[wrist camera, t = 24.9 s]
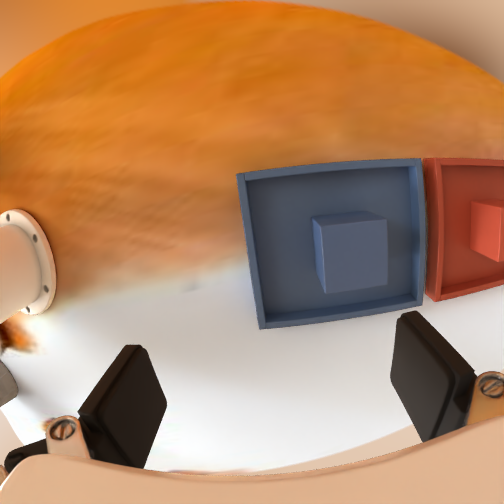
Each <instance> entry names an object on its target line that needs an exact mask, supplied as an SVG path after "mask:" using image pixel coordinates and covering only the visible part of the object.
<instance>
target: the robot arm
mask: <svg viewBox="0 0 504 504" xmlns="http://www.w3.org/2000/svg"><path fill="white" fill-rule="evenodd" d="M55 290H56V271H55V264H54V259H53V255H52V252H51V248H50V245H49V243H48V241H47V238H46V236H45V234H44V232H43V231H42V229H41V227H40V225H39V224H38V223H37V222H36V220H35V219H34V218H33V217H32V216H31V215H30V214H28V213H27V212H25V211H23V210H19V209H13V210H9V211H6V212H4V213H2V214H1V215H0V324H1V323H2V322H4V321H5V320H7V319H8V318H10V317H11V316H13V315H14V314H16V313H17V312H19V311H22V312H24V313H26V314H29V315H38V314H40V313H42V312H43V311H45V310H46V309H47V308H48V307H49V306H50V305H51V303H52V301H53V298H54V296H55ZM474 371H475V370H474V369H473V368H472V367H471V366H470V365H469V364H468V363H467V362H466V360H465V359H464V358H463V357H462V356H461V355H460V354H459V353H458V352H457V351H456V350H455V349H454V348H453V347H452V346H451V344H450V343H449V342H448V341H447V340H446V339H445V338H444V337H443V336H442V335H441V334H440V333H439V332H438V331H437V330H436V329H435V328H434V327H433V326H432V325H431V324H430V323H429V322H428V321H427V320H426V319H425V318H424V317H423V316H422V315H421V314H420V313H419V312H418V311H411V312H406V313H403V314H402V315H401V317H400V318H398V319H397V324H396V334H395V344H394V352H393V360H392V367H391V374H390V378H391V382H392V385H393V386H394V388H395V390H396V392H397V394H398V396H399V398H400V399H401V401H402V403H403V405H404V407H405V409H406V411H407V413H408V415H409V416H410V418H411V420H412V422H413V424H414V426H415V428H416V430H417V432H418V434H419V436H420V438H421V440H422V442H423V443H420V444H417V445H414V446H412V447H408V448H405V449H402V450H399V451H396V452H392V453H389V454H385V455H382V456H378V457H375V458H371V459H367V460H363V461H358V462H354V463H350V464H344V465H340V466H334V467H329V468H322V469H316V470H310V471H302V472H293V473H284V474H271V475H255V476H254V475H253V476H210V475H191V474H179V473H169V472H160V471H153V470H146V469H143V468H144V466H145V463H146V461H147V458H148V455H149V452H150V450H151V447H152V444H153V442H154V439H155V437H156V434H157V431H158V429H159V426H160V423H161V421H162V418H163V416H164V413H165V410H166V408H167V400H166V398H165V395H164V393H163V391H162V388H161V386H160V383H159V381H158V379H157V376H156V374H155V371H154V368H153V366H152V363H151V361H150V358H149V355H148V352H147V350H146V349H145V348H143V347H142V346H141V345H126V346H124V348H123V349H122V350H121V352H120V353H119V354H118V356H117V357H116V359H115V360H114V361H113V363H112V364H111V365H110V367H109V368H108V369H107V371H106V372H105V374H104V375H103V376H102V378H101V379H100V380H99V382H98V383H97V385H96V386H95V387H94V389H93V390H92V392H91V393H90V394H89V396H88V397H87V399H86V400H85V402H84V403H83V404H82V406H81V407H80V409H79V410H78V413H79V415H80V417H79V419H77V418H75V417H73V416H61V417H58V418H56V419H54V420H53V421H52V422H51V423H50V424H49V425H48V427H47V429H46V439H43V440H40V441H37V442H34V443H32V444H29V445H26V446H23V447H20V448H17V449H15V450H12V451H11V452H9V454H8V455H7V457H6V459H5V462H4V466H5V467H3V466H2V465H0V504H504V374H502V373H500V372H496V371H488V372H484V373H482V374H481V375H479V376H478V377H477V376H476V375H475V373H474Z"/></svg>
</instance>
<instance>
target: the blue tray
mask: <svg viewBox="0 0 504 504" xmlns="http://www.w3.org/2000/svg"><path fill="white" fill-rule="evenodd" d="M236 179H237V186H238V192H239V199H240V206H241V213H242V219H243V226H244V233H245V239H246V246H247V253H248V259H249V266H250V273H251V279H252V286H253V293H254V299H255V306H256V312H257V319H258V325H259V329H260V330H261V329H266V328H267V329H271V328H281V327H290V326H299V325H307V324H315V323H323V322H330V321H337V320H344V319H350V318H357V317H363V316H369V315H375V314H380V313H386V312H391V311H396V310H402V309H407V308H412V307H416V306H421V305H422V302H423V291H424V276H425V250H426V224H425V198H424V183H423V172H422V162H421V158H410V159H380V160H361V161H346V162H333V163H322V164H311V165H301V166H292V167H283V168H275V169H267V170H260V171H252V172H245V173H239V174H236ZM357 211H368V212H370V213H373V214H375V215H378V216H380V217H383V218H385V219H387V231H388V284H387V285H382V286H375V287H369V288H362V289H356V290H349V291H342V292H334V293H327V294H326V293H325V292H324V289H323V287H322V285H321V282H320V280H319V278H318V275H317V273H316V266H315V254H314V243H313V233H312V223H311V217H312V216H319V215H328V214H338V213H347V212H357Z"/></svg>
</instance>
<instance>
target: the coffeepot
mask: <svg viewBox="0 0 504 504" xmlns="http://www.w3.org/2000/svg"><path fill="white" fill-rule="evenodd" d="M17 393H18V388H17V385H16V382H15V380H14V378H13V377H12V375H11V373H10V372H9V370H8V369H7V368H6V366H5V365H4V364H3V363H2V362H1V361H0V407H1V406H3V405H4V404H6V403H7V402H9V401H10V400H12V399H13V398H15V397H17Z"/></svg>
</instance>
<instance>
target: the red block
mask: <svg viewBox="0 0 504 504" xmlns="http://www.w3.org/2000/svg"><path fill="white" fill-rule="evenodd" d="M470 249H472V250H474V251H476V252H478V253H480V254H482V255H485V256H487V257H489V258H491V259H493V260H495V261H497V262H501V261H504V200H500V199H499V200H481V201H471V238H470Z"/></svg>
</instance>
